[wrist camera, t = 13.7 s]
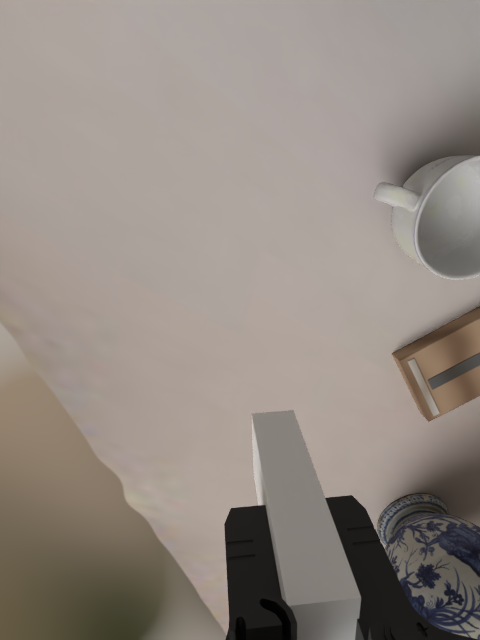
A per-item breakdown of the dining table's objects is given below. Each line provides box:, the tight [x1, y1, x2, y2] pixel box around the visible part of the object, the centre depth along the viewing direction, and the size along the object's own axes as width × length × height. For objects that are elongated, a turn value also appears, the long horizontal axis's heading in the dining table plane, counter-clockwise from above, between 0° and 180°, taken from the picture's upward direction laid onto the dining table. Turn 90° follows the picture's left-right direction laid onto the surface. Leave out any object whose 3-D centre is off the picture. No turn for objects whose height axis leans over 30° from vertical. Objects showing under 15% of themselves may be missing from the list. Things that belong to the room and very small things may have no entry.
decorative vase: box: [377, 494, 480, 640], centre depth 45 cm, size 21×19×28 cm
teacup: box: [374, 155, 480, 280], centre depth 37 cm, size 14×11×8 cm
